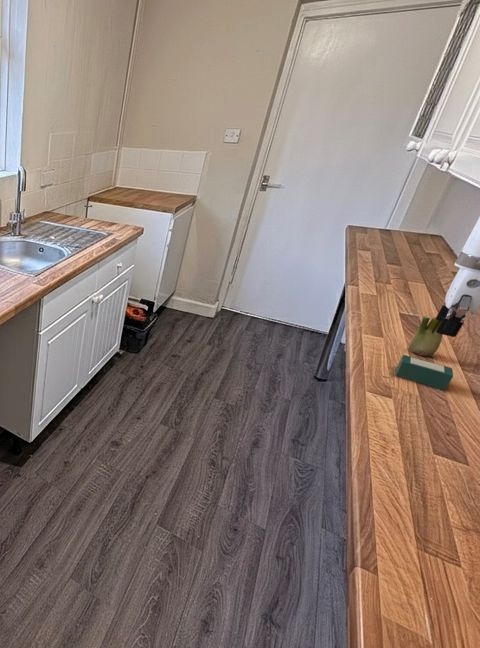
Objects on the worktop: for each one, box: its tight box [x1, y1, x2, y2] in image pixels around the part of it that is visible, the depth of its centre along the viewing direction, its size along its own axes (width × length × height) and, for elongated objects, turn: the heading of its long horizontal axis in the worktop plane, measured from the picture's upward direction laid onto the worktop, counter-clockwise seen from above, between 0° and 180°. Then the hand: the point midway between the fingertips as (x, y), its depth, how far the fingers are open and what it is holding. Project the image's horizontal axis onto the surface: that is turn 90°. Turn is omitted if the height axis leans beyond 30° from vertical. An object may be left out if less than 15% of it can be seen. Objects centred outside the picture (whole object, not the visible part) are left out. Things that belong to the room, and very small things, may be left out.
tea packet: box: [395, 354, 454, 392], centre depth 106 cm, size 9×5×5 cm, turn 45°
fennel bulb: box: [408, 315, 444, 358], centre depth 117 cm, size 6×5×12 cm
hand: (444, 327), depth 102 cm, fingers open, 9 cm apart
